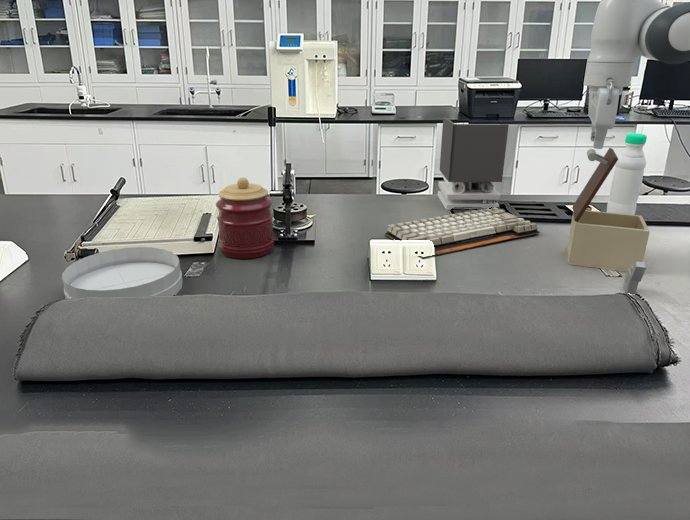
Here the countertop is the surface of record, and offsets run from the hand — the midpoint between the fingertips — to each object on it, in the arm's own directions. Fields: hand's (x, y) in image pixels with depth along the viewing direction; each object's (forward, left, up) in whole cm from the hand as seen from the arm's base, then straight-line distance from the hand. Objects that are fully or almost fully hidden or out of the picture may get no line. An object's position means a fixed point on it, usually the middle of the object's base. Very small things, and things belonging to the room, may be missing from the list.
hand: (596, 144), depth 115 cm
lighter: (-10, +18, -26) cm, 33 cm away
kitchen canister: (+74, +23, -26) cm, 82 cm away
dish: (+86, +51, -26) cm, 104 cm away
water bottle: (-12, -27, -26) cm, 39 cm away
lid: (-1, 0, -9) cm, 9 cm away
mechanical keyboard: (+27, -6, -26) cm, 39 cm away
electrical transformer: (+30, -37, -26) cm, 55 cm away
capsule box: (-6, 0, -26) cm, 27 cm away
